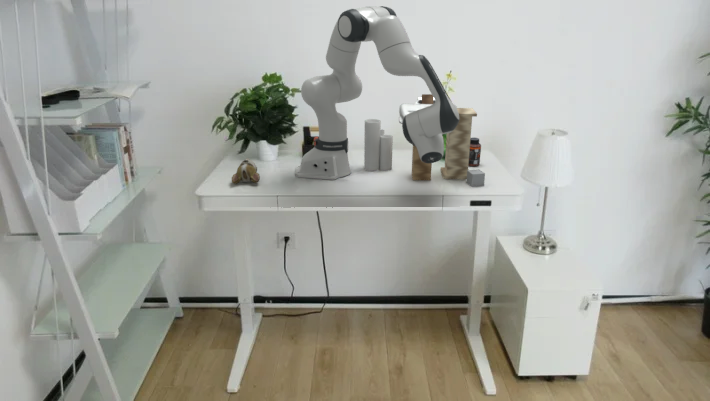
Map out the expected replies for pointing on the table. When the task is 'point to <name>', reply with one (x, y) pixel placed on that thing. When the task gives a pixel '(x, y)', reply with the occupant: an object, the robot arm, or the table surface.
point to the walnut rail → (427, 99)
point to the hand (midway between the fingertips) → (426, 98)
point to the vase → (377, 147)
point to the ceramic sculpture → (246, 172)
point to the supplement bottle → (474, 152)
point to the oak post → (420, 167)
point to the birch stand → (458, 146)
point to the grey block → (475, 178)
